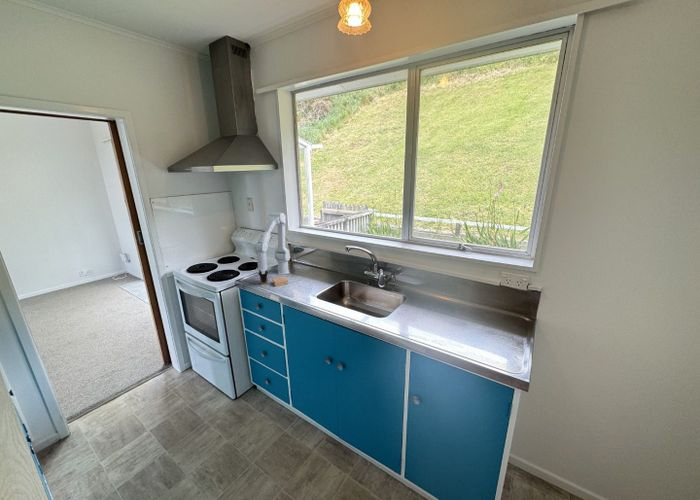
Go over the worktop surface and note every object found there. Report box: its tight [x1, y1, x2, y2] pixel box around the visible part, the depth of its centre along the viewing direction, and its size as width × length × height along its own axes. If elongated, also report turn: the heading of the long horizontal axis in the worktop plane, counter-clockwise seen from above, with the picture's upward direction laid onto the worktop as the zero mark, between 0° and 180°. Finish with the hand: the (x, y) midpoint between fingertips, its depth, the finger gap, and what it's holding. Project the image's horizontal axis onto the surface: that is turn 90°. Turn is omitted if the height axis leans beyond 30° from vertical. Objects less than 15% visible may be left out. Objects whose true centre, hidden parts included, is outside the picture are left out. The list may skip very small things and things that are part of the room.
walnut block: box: [259, 276, 269, 285], centre depth 184 cm, size 4×4×5 cm
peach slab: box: [271, 276, 289, 287], centre depth 183 cm, size 8×8×3 cm
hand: (263, 280), depth 184 cm, fingers open, 5 cm apart
